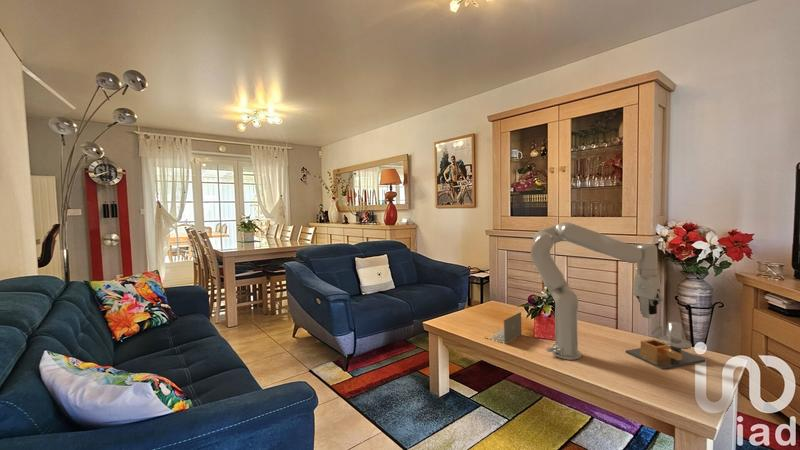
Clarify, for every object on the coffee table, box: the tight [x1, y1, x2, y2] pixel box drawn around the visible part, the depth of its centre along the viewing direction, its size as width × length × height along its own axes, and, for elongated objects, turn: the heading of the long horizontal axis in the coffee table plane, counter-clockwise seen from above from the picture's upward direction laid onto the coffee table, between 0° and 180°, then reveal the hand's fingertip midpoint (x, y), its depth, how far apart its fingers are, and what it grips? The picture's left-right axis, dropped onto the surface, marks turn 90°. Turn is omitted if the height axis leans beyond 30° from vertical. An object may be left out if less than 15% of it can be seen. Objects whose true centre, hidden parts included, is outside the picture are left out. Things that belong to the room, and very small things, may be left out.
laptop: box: [488, 312, 523, 345], centre depth 191 cm, size 18×12×13 cm
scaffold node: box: [625, 320, 706, 370], centre depth 158 cm, size 24×20×15 cm
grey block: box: [639, 297, 657, 320], centre depth 155 cm, size 4×4×9 cm
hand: (648, 312), depth 155 cm, fingers closed on grey block, 4 cm apart
